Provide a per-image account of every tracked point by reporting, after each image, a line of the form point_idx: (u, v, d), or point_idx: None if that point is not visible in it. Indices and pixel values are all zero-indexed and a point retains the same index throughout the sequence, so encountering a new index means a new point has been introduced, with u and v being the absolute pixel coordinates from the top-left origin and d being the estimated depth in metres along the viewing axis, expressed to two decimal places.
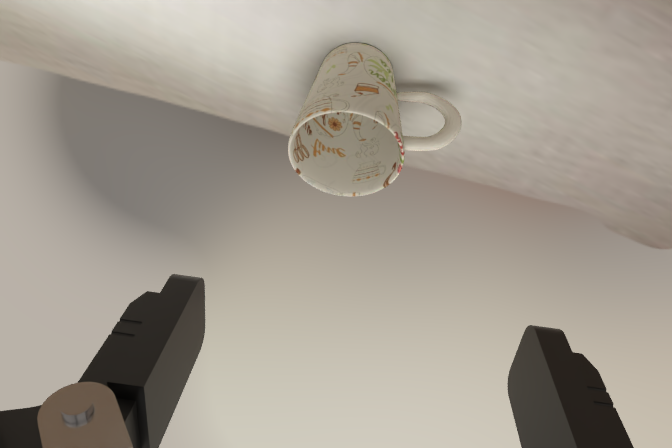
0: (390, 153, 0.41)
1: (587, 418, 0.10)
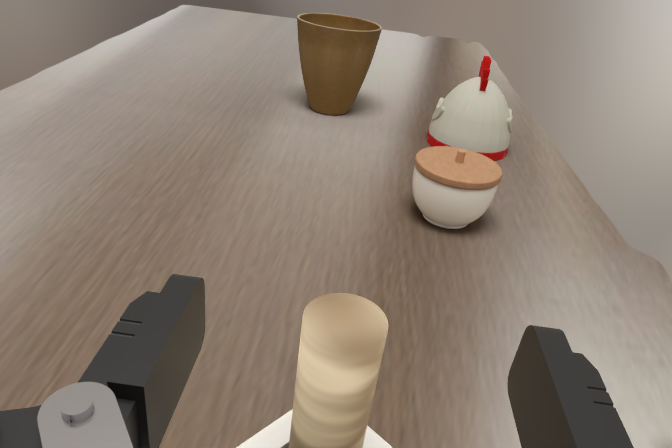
0: None
1: (587, 418, 0.10)
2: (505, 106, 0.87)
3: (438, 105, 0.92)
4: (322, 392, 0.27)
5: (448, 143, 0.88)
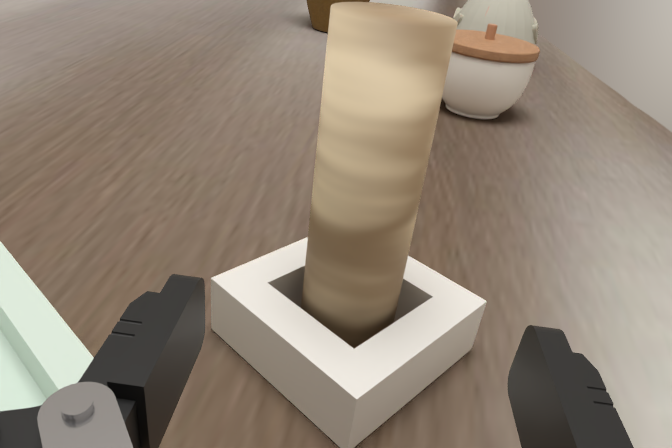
0: None
1: (587, 418, 0.10)
2: (530, 11, 0.79)
3: (455, 15, 0.83)
4: (360, 119, 0.18)
5: None
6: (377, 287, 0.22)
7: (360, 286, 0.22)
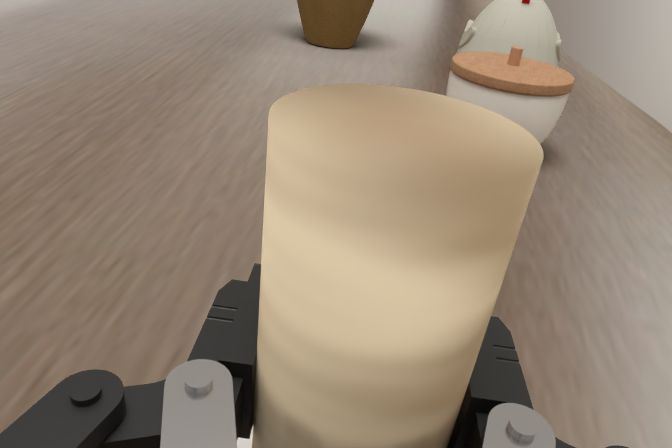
0: None
1: (486, 370, 0.11)
2: (553, 25, 0.69)
3: (467, 28, 0.73)
4: (332, 353, 0.09)
5: None
6: None
7: None
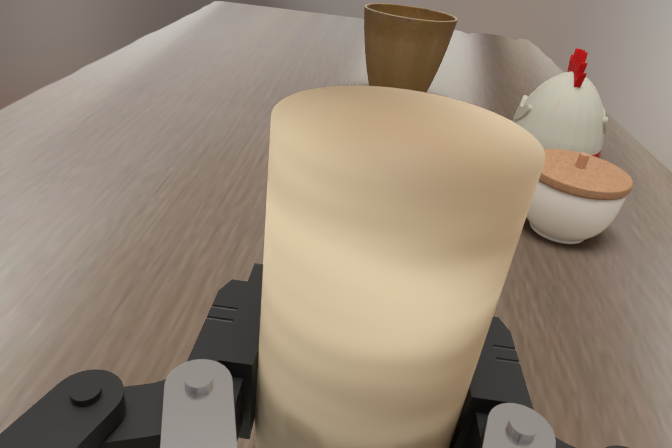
0: None
1: (486, 370, 0.11)
2: (601, 104, 0.78)
3: (522, 103, 0.83)
4: (335, 354, 0.09)
5: None
6: None
7: None
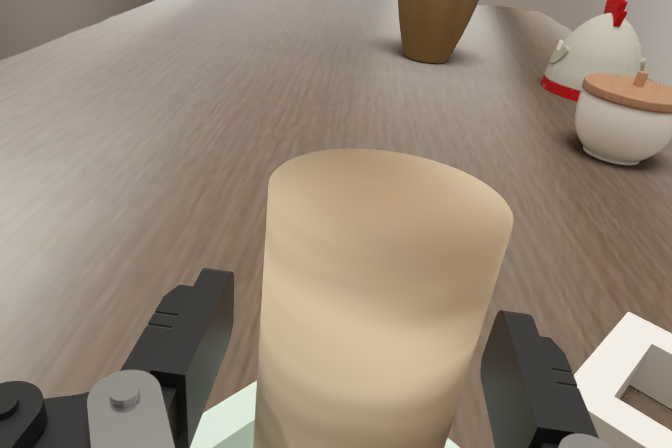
0: None
1: (548, 396, 0.11)
2: (639, 45, 0.78)
3: (558, 47, 0.83)
4: (325, 401, 0.09)
5: (575, 86, 0.79)
6: None
7: None
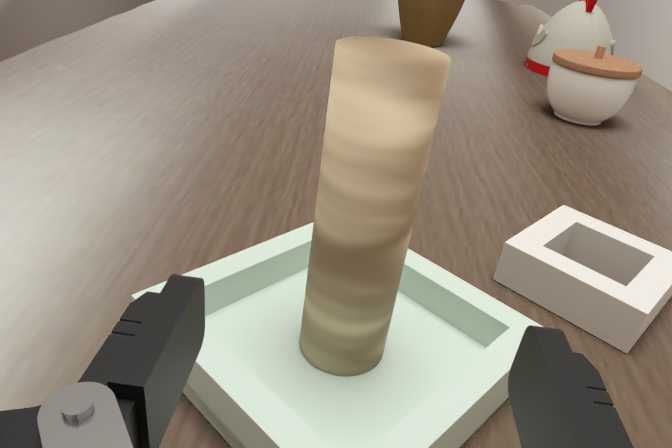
0: None
1: (587, 418, 0.10)
2: (609, 28, 0.89)
3: (539, 31, 0.93)
4: (361, 146, 0.20)
5: None
6: (374, 297, 0.24)
7: (358, 297, 0.23)
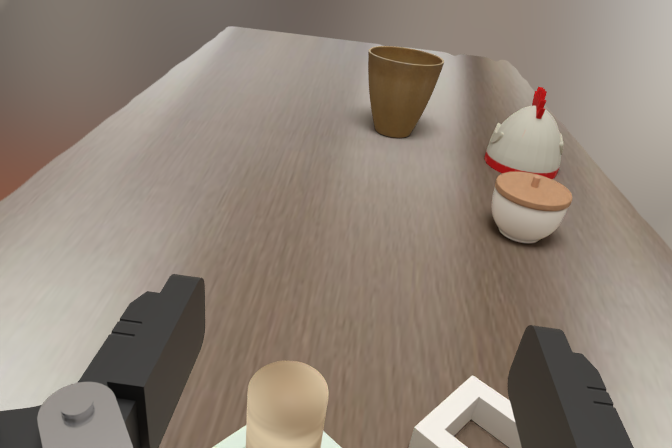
0: None
1: (587, 418, 0.10)
2: (558, 131, 0.99)
3: (496, 130, 1.03)
4: None
5: (507, 164, 0.99)
6: None
7: None
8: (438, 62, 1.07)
